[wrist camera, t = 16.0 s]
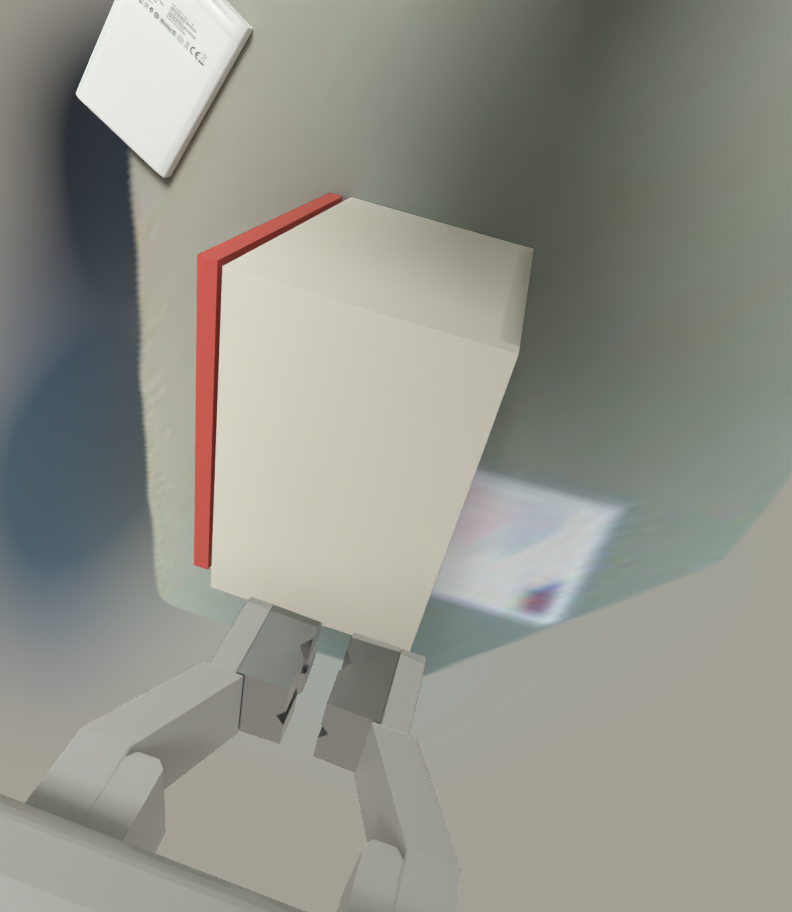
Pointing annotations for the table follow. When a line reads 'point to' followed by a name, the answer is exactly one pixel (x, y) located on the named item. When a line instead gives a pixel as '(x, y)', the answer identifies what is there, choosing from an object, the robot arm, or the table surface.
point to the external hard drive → (161, 72)
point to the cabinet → (357, 409)
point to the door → (209, 355)
